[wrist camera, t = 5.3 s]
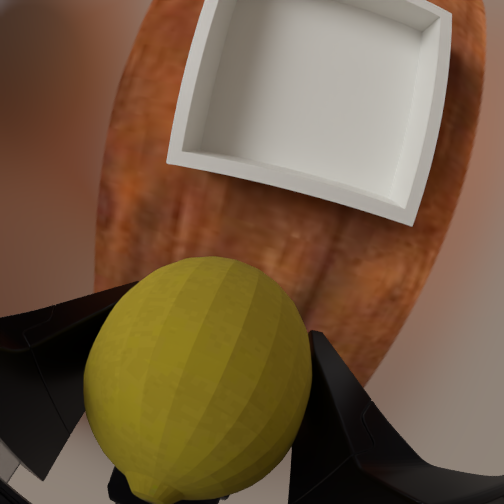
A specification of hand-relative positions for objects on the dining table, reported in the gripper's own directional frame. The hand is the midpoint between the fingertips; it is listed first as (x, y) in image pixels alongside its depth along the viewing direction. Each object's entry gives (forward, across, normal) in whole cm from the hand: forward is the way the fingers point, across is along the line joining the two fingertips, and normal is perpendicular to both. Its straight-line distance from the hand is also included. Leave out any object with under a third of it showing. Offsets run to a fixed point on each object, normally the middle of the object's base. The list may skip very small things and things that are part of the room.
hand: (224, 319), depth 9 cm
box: (+11, -1, -10) cm, 15 cm away
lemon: (+2, 0, 0) cm, 2 cm away
